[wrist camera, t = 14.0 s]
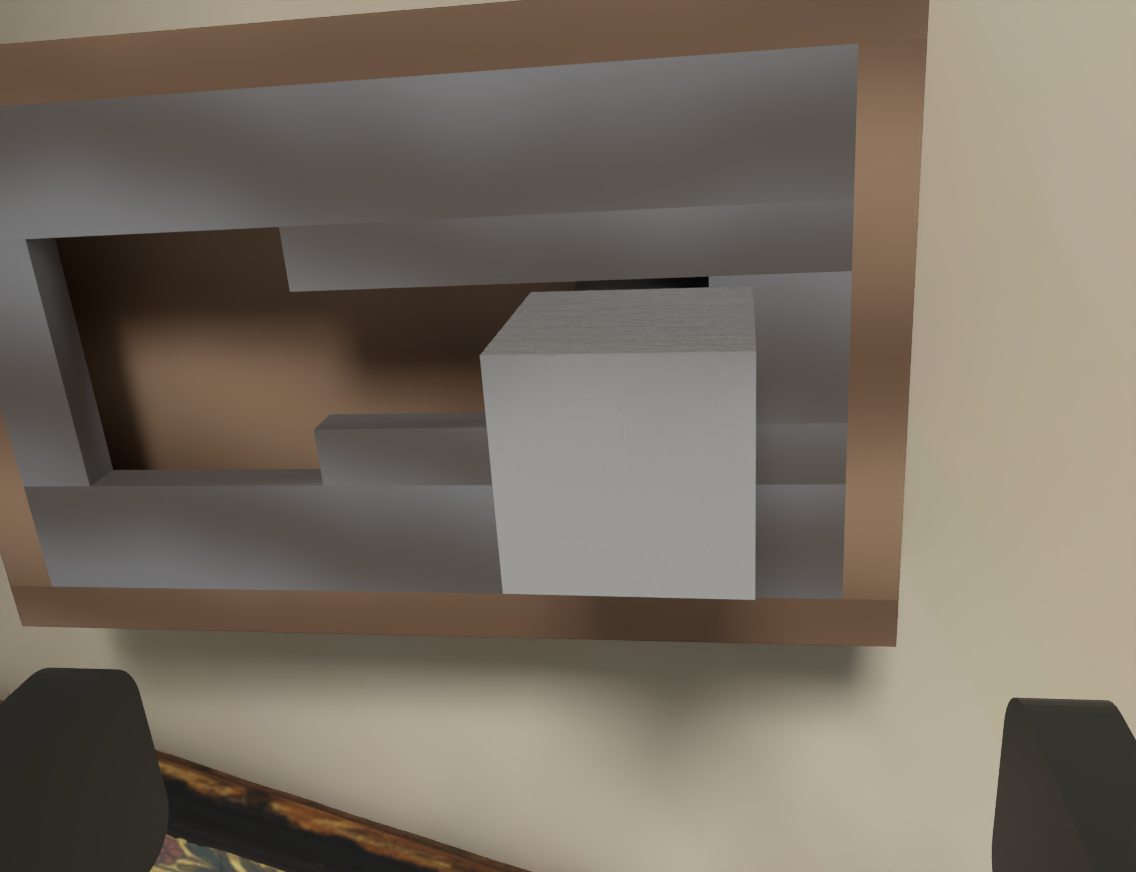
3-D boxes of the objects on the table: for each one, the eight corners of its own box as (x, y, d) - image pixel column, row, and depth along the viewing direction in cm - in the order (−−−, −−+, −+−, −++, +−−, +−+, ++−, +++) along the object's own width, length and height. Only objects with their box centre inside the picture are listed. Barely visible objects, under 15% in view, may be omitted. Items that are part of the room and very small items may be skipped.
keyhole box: (-21, 54, 25) (-151, 56, 22) (897, -23, 22) (930, -35, 18) (109, 554, 30) (22, 626, 27) (874, 561, 27) (896, 646, 23)
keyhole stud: (566, 228, 24) (465, 342, 15) (758, 221, 23) (770, 337, 14) (577, 406, 25) (492, 604, 16) (758, 406, 24) (768, 611, 16)
